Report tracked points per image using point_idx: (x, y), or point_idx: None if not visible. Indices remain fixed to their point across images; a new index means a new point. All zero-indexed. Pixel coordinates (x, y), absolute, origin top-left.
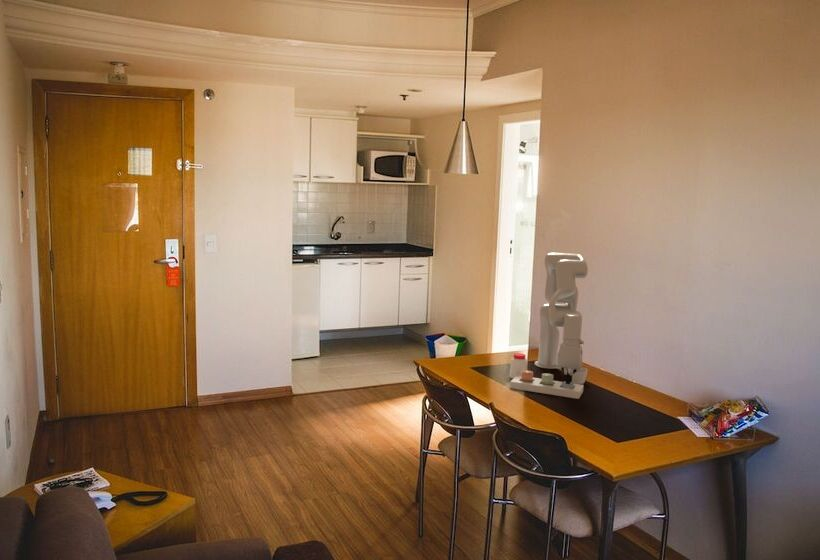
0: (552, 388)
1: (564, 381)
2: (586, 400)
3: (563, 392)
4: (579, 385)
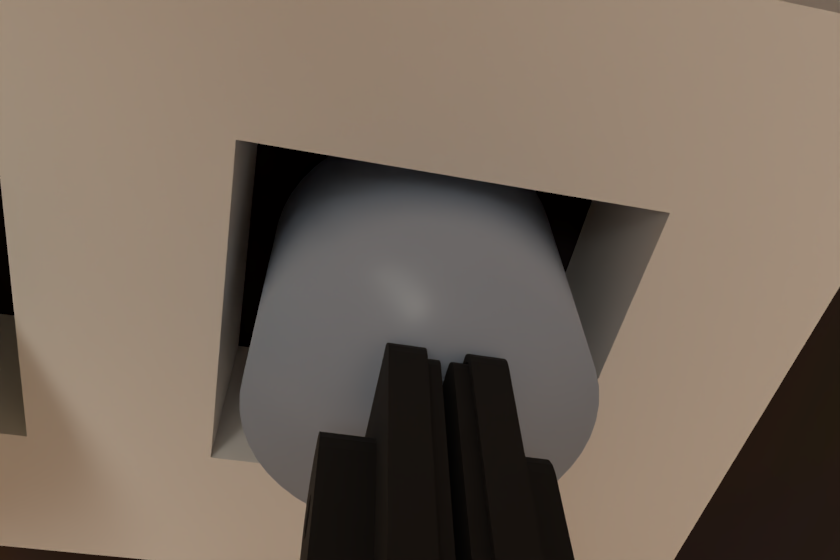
0: (73, 540)
1: (308, 302)
2: (731, 514)
3: None
4: (808, 145)
